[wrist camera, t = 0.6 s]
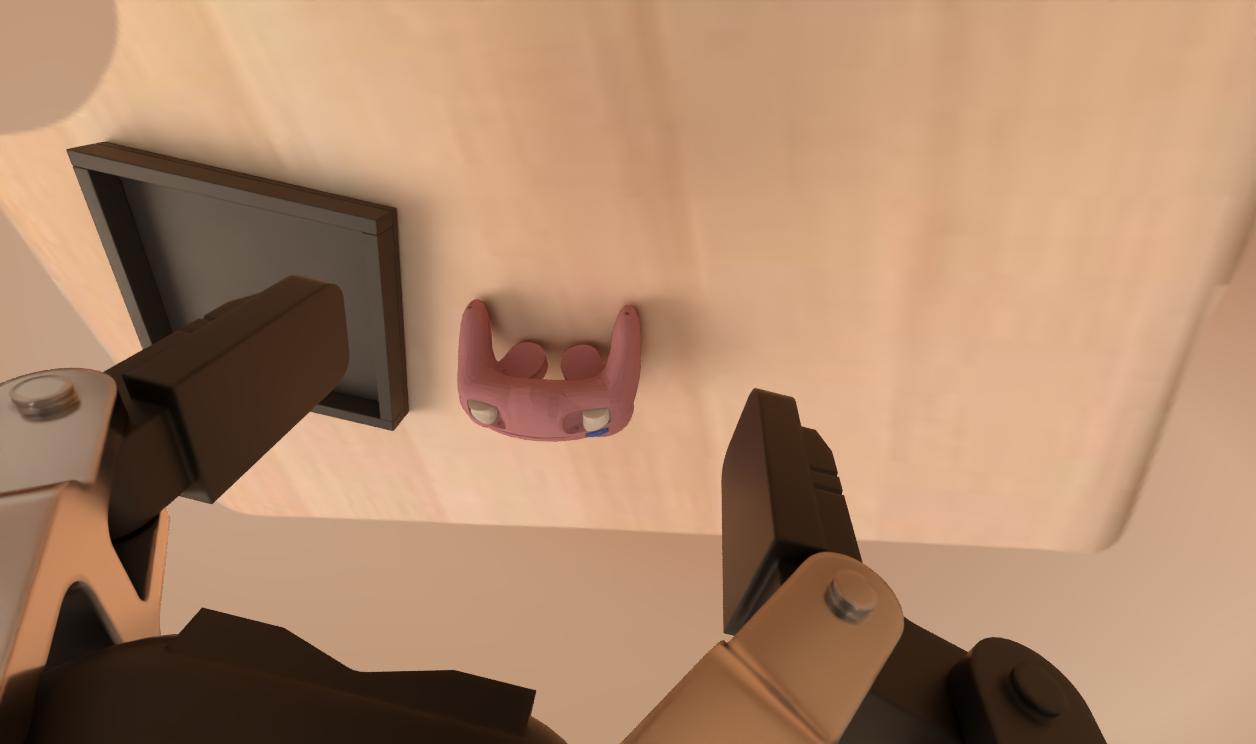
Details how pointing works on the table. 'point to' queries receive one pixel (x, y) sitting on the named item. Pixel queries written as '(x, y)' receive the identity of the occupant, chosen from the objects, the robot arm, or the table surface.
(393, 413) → the tray
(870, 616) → the robot arm
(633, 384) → the video game controller
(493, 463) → the table surface
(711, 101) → the table surface
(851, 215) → the table surface
